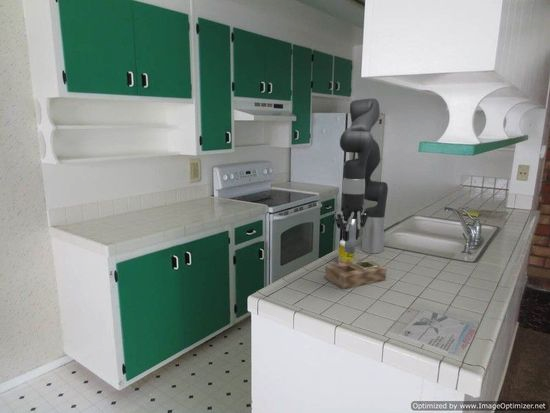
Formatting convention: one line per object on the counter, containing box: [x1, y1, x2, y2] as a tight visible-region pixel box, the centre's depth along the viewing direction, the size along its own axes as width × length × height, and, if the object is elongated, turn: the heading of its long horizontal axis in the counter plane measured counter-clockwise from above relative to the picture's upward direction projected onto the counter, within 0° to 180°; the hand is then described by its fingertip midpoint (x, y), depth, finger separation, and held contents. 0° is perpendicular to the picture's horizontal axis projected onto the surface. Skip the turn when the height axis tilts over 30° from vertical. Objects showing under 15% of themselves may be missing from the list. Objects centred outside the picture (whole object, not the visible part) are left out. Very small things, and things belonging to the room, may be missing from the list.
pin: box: [344, 218, 357, 253], centre depth 137 cm, size 4×4×12 cm
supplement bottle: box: [337, 239, 356, 264], centre depth 169 cm, size 7×7×13 cm
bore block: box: [324, 258, 387, 290], centre depth 154 cm, size 20×12×5 cm, turn 117°
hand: (350, 239), depth 137 cm, fingers closed on pin, 3 cm apart
